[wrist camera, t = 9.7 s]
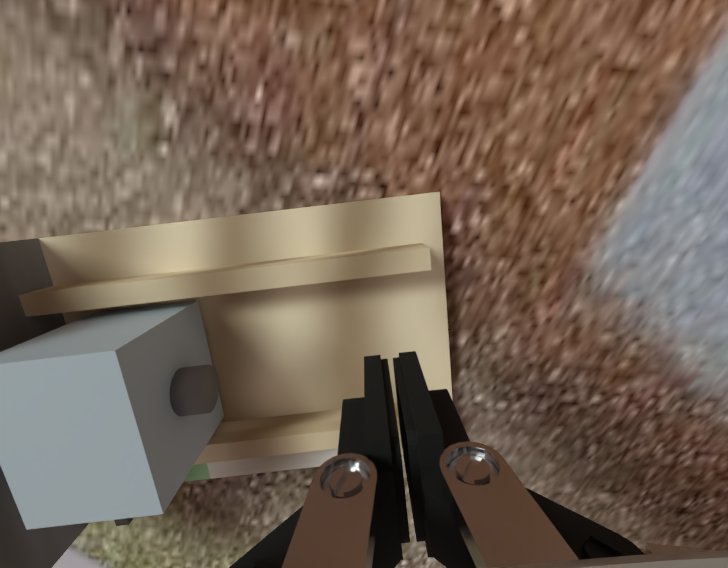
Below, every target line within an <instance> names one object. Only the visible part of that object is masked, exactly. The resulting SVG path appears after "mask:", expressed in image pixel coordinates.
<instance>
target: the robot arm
mask: <svg viewBox="0 0 728 568" xmlns="http://www.w3.org/2000/svg"><path fill="white" fill-rule="evenodd" d="M393 367H394V377H395V387H396V396H397V406H398V416H399V426H400V435H401V442H402V449H403V455H404V462H405V468H406V475H407V481H408V488H409V494H410V500H411V507H412V513H413V520H414V526H415V533H416V539H417V542H419V541H425V543H426V548H427V554H428V557H434V558H435V559H436V560H438V561H439V562H440V563H442V564H443V565H444V566H446V568H728V550H710V551H709V550H701V549H693V548H685V547H677V546H669V545H661V544H653V543H646V549H639V548H638V547H637V546H636V545H634V544H633V543H632V542H631V541H629V540H627V539H626V538H624V537H622V536H621V535H619V534H617V533H615V532H613V531H611V530H609V529H607V528H605V527H603V526H601V525H599V524H597V523H595V522H593V521H591V520H589V519H587V518H585V517H583V516H581V515H579V514H577V513H575V512H573V511H571V510H569V509H567V508H565V507H563V506H561V505H559V504H557V503H555V502H553V501H551V500H549V499H547V498H545V497H543V496H541V495H539V494H537V493H535V492H533V491H531V490H529V489H527V488H525V486H524V485H523V484H522V482H521V481H520V480H519V478H518V477H517V476H516V474H515V473H514V472H513V470H512V469H511V468H510V466H509V465H508V464H507V462H506V461H505V460H504V458H503V457H502V456H501V455H500V454H499V453H498V452H497V451H496V450H494V449H492V448H490V447H489V446H487V445H484V444H481V443H476V442H470V441H469V438H468V436H467V434H466V431H465V429H464V427H463V424H462V422H461V420H460V417H459V415H458V413H457V410H456V408H455V406H454V403H453V401H452V399H451V396H450V394H449V392H448V390H447V389H439V390H428V387H427V384H426V381H425V378H424V375H423V372H422V369H421V366H420V363H419V360H418V357H417V354H416V351H411V352H402V353H399V357H397V358H393ZM408 542H410V537H409V527H408V518H407V508H406V498H405V488H404V478H403V468H402V459H401V449H400V440H399V432H398V425H397V419H396V412H395V405H394V399H393V392H392V385H391V379H390V372H389V365H388V359H381V356H380V355H373V356H364V397H361V398H351V399H343V402H342V412H341V423H340V433H339V444H338V454H337V456H334V457H332V458H330V459H328V460H327V461H325V462H324V463H323V464H322V465H321V466H320V467H319V468H318V470H317V471H316V473H315V475H314V477H313V480H312V483H311V486H310V489H309V492H308V494H307V497H306V500H305V503H304V505H303V506H302V507H301V508H300V509H299V510H297V511H296V512H295V513H294V514H293V515H291V516H290V517H289V518H288V519H287V520H285V521H284V522H283V523H282V524H281V525H279V526H278V527H277V528H276V529H275V530H273V531H272V532H271V533H270V534H269V535H267V536H266V537H265V538H264V539H263V540H262V541H260V542H259V543H258V544H257V545H256V546H254V547H253V548H252V549H251V550H250V551H248V552H247V553H246V554H245V555H244V556H242V557H241V558H240V559H239V560H238V561H236V562H235V563H234V564H233V565H232V566H230V567H229V568H395V566H396V565H397V564H398V563H399V561H400V560H403V556H402V546H401V543H408Z"/></svg>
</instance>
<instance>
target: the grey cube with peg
mask: <svg viewBox="0 0 728 568" xmlns="http://www.w3.org/2000/svg"><path fill="white" fill-rule="evenodd" d="M223 417H224V413H223V408H222V404H221V399H220V395H219V381H218V376H217V373H216V370H215V369H214V367H213V365H212V360H211V356H210V352H209V347H208V343H207V338H206V334H205V330H204V325H203V321H202V317H201V312H200V308H199V304H198V300H197V301H188V302H179V303H171V304H162V305H153V306H145V307H136V308H127V309H119V310H110V311H101V312H95V313H93V314H91V315H88V316H86V317H83V318H81V319H79V320H76V321H74V322H71V323H69V324H67V325H64V326H62V327H59V328H57V329H55V330H52V331H50V332H47V333H45V334H42V335H40V336H38V337H35V338H33V339H30V340H28V341H26V342H23V343H21V344H18V345H16V346H14V347H11V348H9V349H6V350H4V351H2V352H0V466H1V468H2V471H3V473H4V476H5V478H6V480H7V483H8V485H9V488H10V490H11V493H12V495H13V498H14V500H15V503H16V505H17V507H18V510H19V512H20V515H21V517H22V520H23V522H24V525H25V527H26V530H28V529H37V528H45V527H54V526H63V525H72V524H81V523H89V522H98V521H107V520H115V523H116V526H120V525H129V523H130V522H131V521H132V519H133V518H134V517H142V516H151V515H160V514H164V512H165V510H166V509H167V507H168V506H169V504H170V502H171V501H172V499H173V498H174V496H175V494H176V493H177V491H178V490H179V488H180V486H181V485H182V483H183V482H184V480H185V478H186V477H187V475H188V474H189V472H190V470H191V469H192V467H193V465H194V464H195V462H196V461H197V459H198V457H199V456H200V454H201V453H202V451H203V449H204V448H205V446H206V445H207V443H208V441H209V440H210V438H211V437H212V435H213V433H214V432H215V430H216V428H217V427H218V425H219V424H220V422H221V420H222V419H223Z"/></svg>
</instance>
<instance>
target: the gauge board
mask: <svg viewBox="0 0 728 568" xmlns="http://www.w3.org/2000/svg"><path fill="white" fill-rule="evenodd" d="M197 300H198V304H199V308H200V312H201V317H202V321H203V325H204V330H205V334H206V338H207V343H208V347H209V352H210V356H211V360H212V365H213V367H214V369H215V370H216V373H217V376H218V381H219V395H220V399H221V404H222V408H223V413H224V417H223V419H222V420H221V422H220V424H219V425H218V427H217V428H216V430H215V432H214V433H213V435H212V437H211V438H210V440H209V441H208V443H207V445H206V446H205V448H204V449H203V451H202V453H201V454H200V456H199V457H198V459H197V461H196V462H195V464H194V465H193V467H192V469H191V470H190V472H189V474H188V475H187V477H186V478H185V480H184V482H187V481H196V480H205V479H214V478H222V477H231V476H240V475H249V474H257V473H266V472H275V471H284V470H293V469H301V468H310V467H319V466H321V465H322V464H323V463H324V462H325V461H327V460H328V459H330V458H332V457H334V456H337V454H338V444H339V433H340V423H341V412H342V402H343V399H351V398H361V397H364V356H373V355H380V356H381V359H388V365H389V372H390V379H391V385H392V392H393V399H394V405H395V412H396V419H397V425H398V432H399V440H400V449H401V455H403V449H402V442H401V435H400V426H399V416H398V406H397V396H396V387H395V377H394V367H393V358H397V357H399V353H402V352H411V351H416V354H417V357H418V360H419V363H420V366H421V369H422V372H423V375H424V378H425V381H426V384H427V387H428V390H439V389H447V390H448V392H449V394H450V396H451V399H452V384H451V368H450V351H449V335H448V319H447V303H446V287H445V271H444V255H443V239H442V223H441V207H440V192H434V193H425V194H417V195H408V196H399V197H391V198H382V199H374V200H365V201H356V202H348V203H339V204H331V205H322V206H313V207H305V208H296V209H288V210H279V211H270V212H262V213H253V214H245V215H236V216H228V217H219V218H210V219H202V220H193V221H185V222H176V223H167V224H159V225H150V226H142V227H133V228H124V229H116V230H107V231H99V232H90V233H81V234H73V235H64V236H56V237H47V238H39V239H29V240H20V241H11V242H1V243H0V352H2V351H4V350H6V349H9V348H11V347H14V346H16V345H18V344H21V343H23V342H26V341H28V340H30V339H33V338H35V337H38V336H40V335H42V334H45V333H47V332H50V331H52V330H55V329H57V328H59V327H62V326H64V325H67V324H69V323H71V322H74V321H76V320H79V319H81V318H83V317H86V316H88V315H91V314H93V313H95V312H101V311H110V310H119V309H127V308H136V307H145V306H153V305H162V304H171V303H179V302H188V301H197ZM452 401H453V400H452ZM88 524H89V523H81V524H72V525H63V526H54V527H45V528H37V529H28V530H26V527H25V525H24V522H23V520H22V517H21V515H20V512H19V510H18V507H17V505H16V503H15V500H14V498H13V495H12V493H11V490H10V488H9V485H8V483H7V480H6V478H5V476H4V473H3V471H2V468H1V466H0V568H52V567H53V565H54V564H55V563H56V562H57V560H58V559H59V558H60V557H61V556H62V555H63V553H64V552H65V551H66V550H67V549H68V547H69V546H70V545H71V544H72V543H73V542H74V540H75V539H76V538H77V537H78V536H79V534H80V533H81V532H82V531H83V530H84V528H85V527H86V526H87V525H88Z"/></svg>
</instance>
